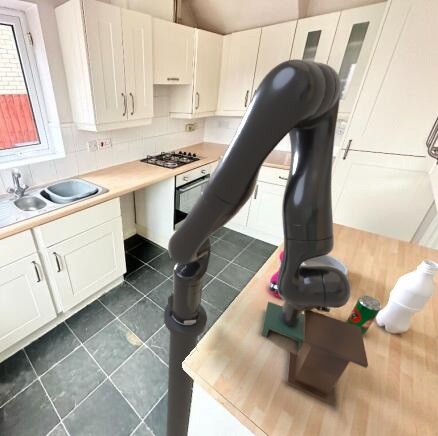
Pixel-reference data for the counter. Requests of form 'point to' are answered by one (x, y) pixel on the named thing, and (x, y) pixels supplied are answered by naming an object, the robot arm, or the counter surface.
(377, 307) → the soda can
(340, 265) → the dog bowl
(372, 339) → the counter surface
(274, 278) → the pepper mill
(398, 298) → the water bottle
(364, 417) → the counter surface
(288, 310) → the spice jar
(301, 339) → the low shelf
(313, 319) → the wooden pedestal table
